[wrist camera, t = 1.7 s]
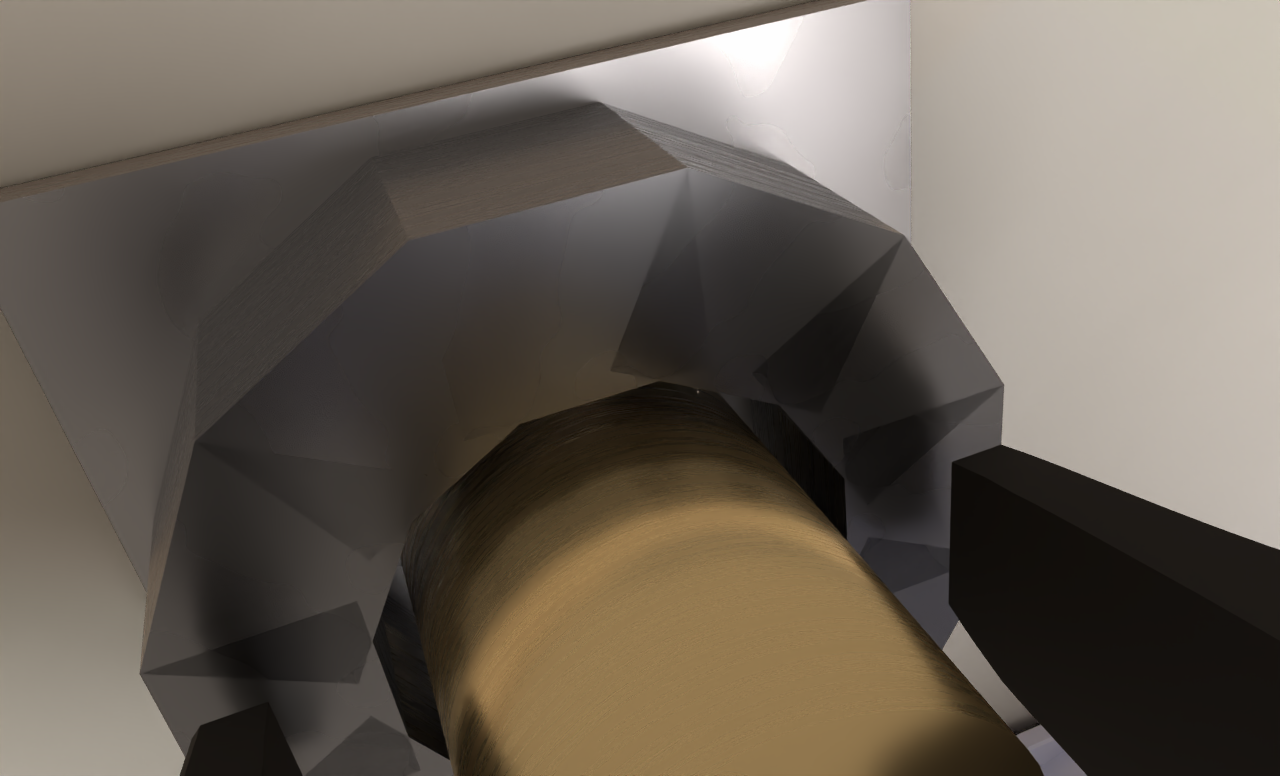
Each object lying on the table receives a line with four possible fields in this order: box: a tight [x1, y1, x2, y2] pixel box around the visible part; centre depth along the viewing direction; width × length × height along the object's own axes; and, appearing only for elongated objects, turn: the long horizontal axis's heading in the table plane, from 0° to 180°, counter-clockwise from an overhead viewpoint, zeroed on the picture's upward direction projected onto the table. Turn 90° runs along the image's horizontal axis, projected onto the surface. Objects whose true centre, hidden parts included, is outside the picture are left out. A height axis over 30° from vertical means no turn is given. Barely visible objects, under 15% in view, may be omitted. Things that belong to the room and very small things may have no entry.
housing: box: [0, 0, 1004, 776], centre depth 12 cm, size 10×10×3 cm
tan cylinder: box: [400, 381, 1044, 776], centre depth 10 cm, size 4×4×7 cm
